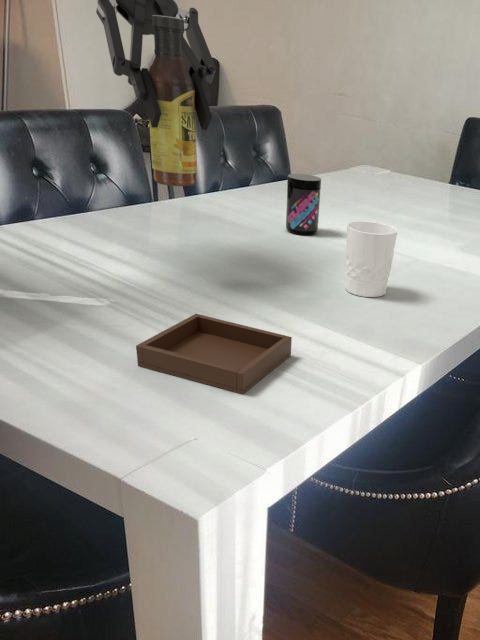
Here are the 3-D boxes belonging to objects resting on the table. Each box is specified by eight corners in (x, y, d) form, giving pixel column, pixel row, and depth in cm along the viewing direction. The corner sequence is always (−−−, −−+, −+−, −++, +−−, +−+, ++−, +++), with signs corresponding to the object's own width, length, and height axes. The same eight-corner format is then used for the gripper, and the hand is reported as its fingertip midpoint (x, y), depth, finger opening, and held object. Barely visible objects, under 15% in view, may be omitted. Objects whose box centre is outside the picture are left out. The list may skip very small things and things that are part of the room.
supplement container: (279, 231, 133) (281, 175, 127) (295, 225, 138) (298, 172, 132) (307, 237, 131) (311, 182, 125) (323, 232, 136) (327, 178, 130)
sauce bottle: (193, 190, 92) (187, 18, 80) (148, 185, 91) (135, 12, 80) (201, 181, 97) (197, 20, 86) (159, 177, 96) (149, 13, 85)
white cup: (360, 301, 102) (367, 235, 96) (332, 285, 107) (337, 222, 101) (398, 295, 106) (407, 232, 100) (370, 281, 111) (377, 220, 105)
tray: (137, 365, 75) (135, 345, 73) (196, 331, 85) (195, 313, 83) (242, 394, 72) (243, 373, 70) (291, 355, 82) (292, 336, 80)
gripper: (62, -71, 81) (112, 96, 79) (209, -43, 90) (256, 106, 88) (58, -19, 87) (105, 137, 85) (196, 2, 97) (240, 143, 95)
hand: (182, 121), depth 87 cm, fingers closed on sauce bottle, 6 cm apart
